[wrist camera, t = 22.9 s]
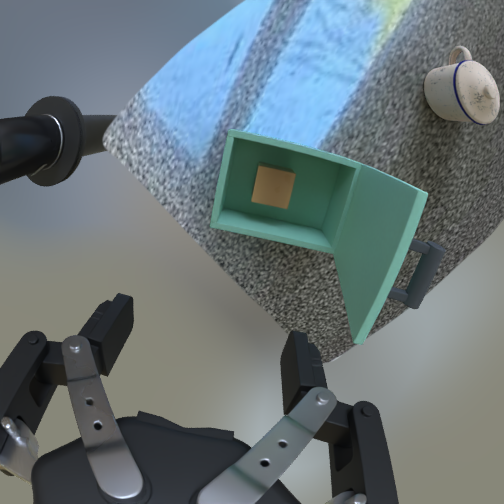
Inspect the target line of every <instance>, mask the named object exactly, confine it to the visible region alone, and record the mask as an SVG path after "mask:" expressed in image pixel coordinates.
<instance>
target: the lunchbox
mask: <svg viewBox="0 0 504 504" xmlns="http://www.w3.org/2000/svg"><path fill="white" fill-rule="evenodd" d="M259 162H264V163H268V164H273V165H278V166H282V167H286V168H291V169H292V170H293V171H294V172H295V173H296V177H295V181H294V185H293V189H292V193H291V197H290V201H289V205H288V209H283V208H279V207H274V206H269V205H265V204H260V203H255V202H251V197H252V191H253V186H254V181H255V177H256V172H257V167H258V163H259ZM361 166H362V163H359V162H357V161H354V160H351V159H349V158H346V157H343V156H339V155H336V154H333V153H329V152H326V151H323V150H319V149H316V148H312V147H308V146H305V145H301V144H297V143H293V142H289V141H285V140H281V139H277V138H273V137H268V136H264V135H259V134H255V133H250V132H245V131H240V130H235V129H229V130H228V134H227V139H226V144H225V148H224V153H223V158H222V163H221V168H220V173H219V178H218V183H217V188H216V194H215V199H214V204H213V210H212V215H211V222H210V228H215V229H220V230H225V231H229V232H234V233H239V234H244V235H248V236H253V237H258V238H262V239H267V240H272V241H276V242H281V243H286V244H290V245H295V246H299V247H304V248H308V249H313V250H317V251H322V252H326V253H331V254H334V252H335V249H336V246H337V243H338V240H339V237H340V234H341V231H342V228H343V225H344V222H345V219H346V216H347V213H348V210H349V207H350V203H351V200H352V197H353V194H354V190H355V187H356V184H357V180H358V177H359V173H360V170H361Z"/></svg>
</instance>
